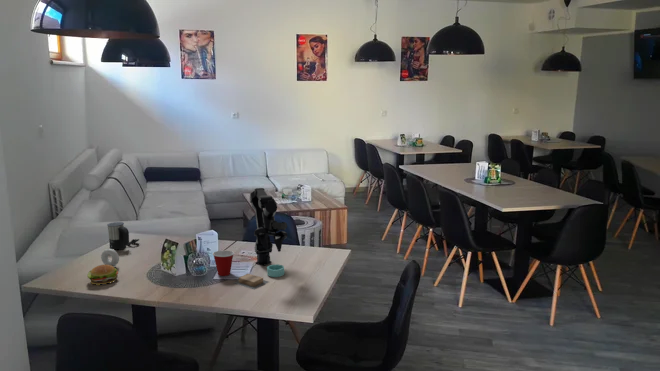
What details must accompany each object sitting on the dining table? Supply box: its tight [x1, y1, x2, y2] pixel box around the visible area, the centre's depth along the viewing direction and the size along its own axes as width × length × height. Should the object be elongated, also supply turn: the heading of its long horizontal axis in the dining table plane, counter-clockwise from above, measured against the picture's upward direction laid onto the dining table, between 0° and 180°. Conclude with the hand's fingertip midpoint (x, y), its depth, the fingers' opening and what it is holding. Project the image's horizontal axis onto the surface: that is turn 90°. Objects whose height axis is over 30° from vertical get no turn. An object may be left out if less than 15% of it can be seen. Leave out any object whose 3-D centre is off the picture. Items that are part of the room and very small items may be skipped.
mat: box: [233, 279, 269, 290], centre depth 240 cm, size 14×11×1 cm
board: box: [238, 273, 264, 287], centre depth 240 cm, size 10×6×2 cm, turn 56°
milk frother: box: [106, 221, 140, 250], centre depth 295 cm, size 14×16×15 cm
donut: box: [100, 248, 120, 267], centre depth 262 cm, size 10×4×10 cm, turn 78°
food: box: [87, 264, 119, 286], centre depth 243 cm, size 14×14×8 cm
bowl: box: [266, 263, 285, 278], centre depth 250 cm, size 8×8×4 cm
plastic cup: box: [212, 250, 235, 277], centre depth 250 cm, size 11×11×12 cm
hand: (273, 250), depth 239 cm, fingers open, 9 cm apart
